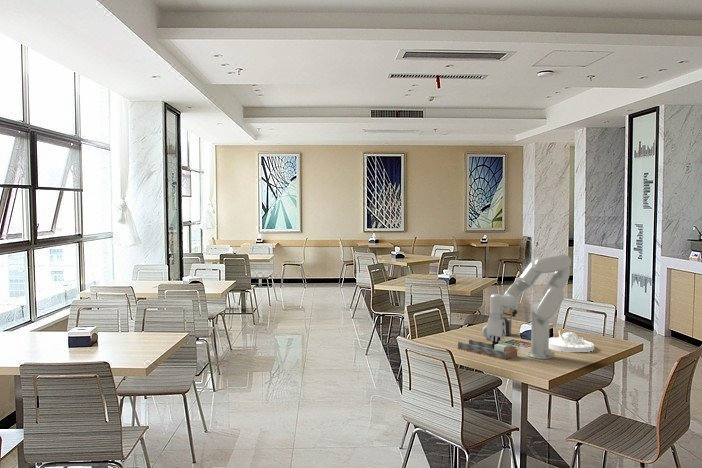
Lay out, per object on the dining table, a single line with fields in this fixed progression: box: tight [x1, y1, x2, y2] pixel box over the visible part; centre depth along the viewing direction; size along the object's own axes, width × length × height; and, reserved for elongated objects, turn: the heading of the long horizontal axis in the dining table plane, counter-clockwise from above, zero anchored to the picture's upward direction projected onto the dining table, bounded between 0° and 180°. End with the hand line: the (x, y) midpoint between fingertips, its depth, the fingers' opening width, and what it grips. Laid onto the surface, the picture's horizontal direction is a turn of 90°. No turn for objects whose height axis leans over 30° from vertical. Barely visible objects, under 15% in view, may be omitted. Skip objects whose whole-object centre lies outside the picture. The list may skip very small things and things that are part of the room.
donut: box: [481, 324, 492, 341], centre depth 353 cm, size 10×4×10 cm, turn 62°
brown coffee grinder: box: [503, 308, 518, 337], centre depth 369 cm, size 16×11×18 cm
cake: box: [549, 330, 595, 353], centre depth 336 cm, size 28×28×10 cm
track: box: [457, 339, 518, 361], centre depth 320 cm, size 32×12×6 cm, turn 42°
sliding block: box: [494, 342, 513, 352], centre depth 312 cm, size 6×9×5 cm
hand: (495, 348), depth 316 cm, fingers closed
